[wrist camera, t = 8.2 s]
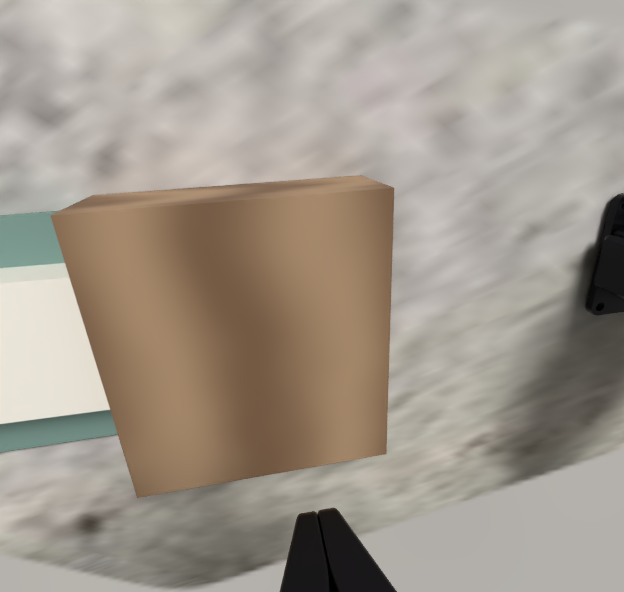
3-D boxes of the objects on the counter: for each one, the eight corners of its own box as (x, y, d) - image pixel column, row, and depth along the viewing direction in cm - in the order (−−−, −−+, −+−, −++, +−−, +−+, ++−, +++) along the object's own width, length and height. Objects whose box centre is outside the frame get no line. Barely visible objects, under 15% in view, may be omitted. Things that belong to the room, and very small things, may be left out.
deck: (361, 175, 17) (394, 188, 14) (361, 400, 22) (386, 454, 18) (92, 195, 16) (50, 215, 12) (154, 432, 21) (137, 497, 17)
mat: (96, 208, 16) (93, 209, 16) (152, 425, 20) (151, 428, 20) (-162, 228, 15) (-170, 230, 15) (-43, 454, 19) (-48, 459, 19)
